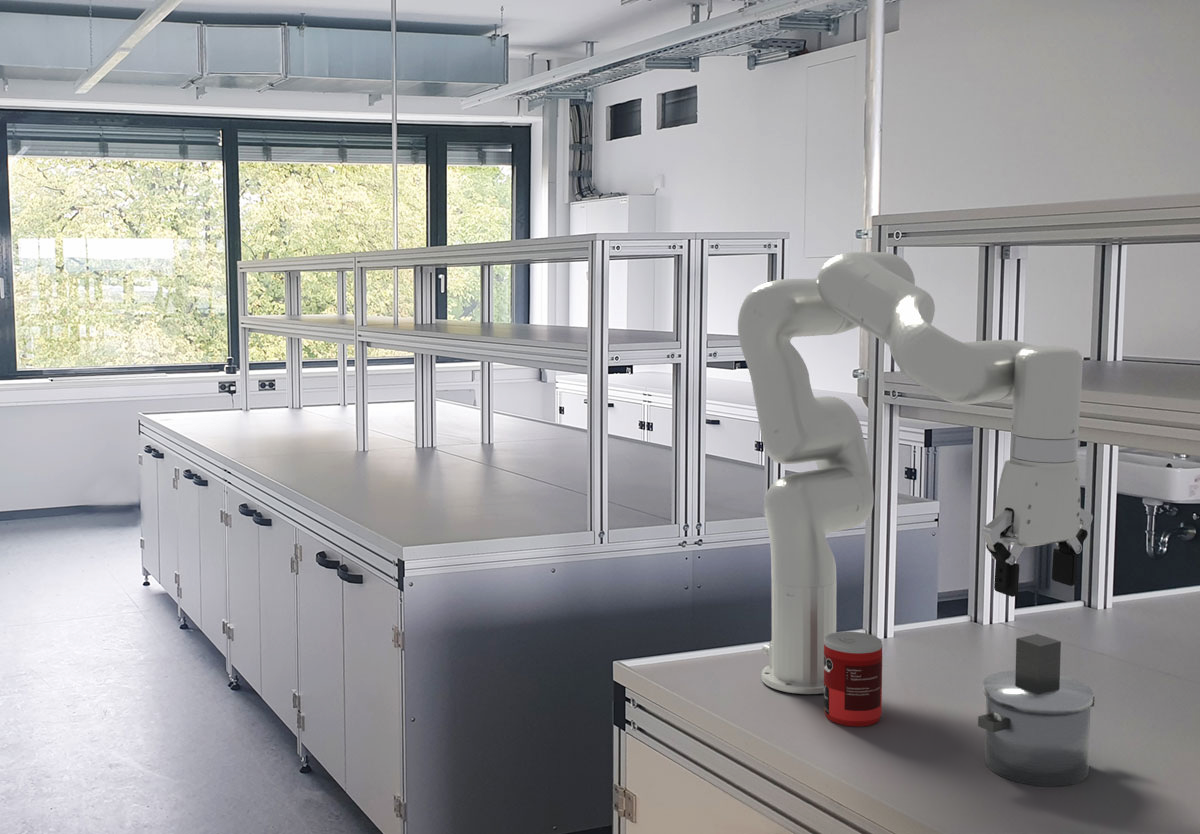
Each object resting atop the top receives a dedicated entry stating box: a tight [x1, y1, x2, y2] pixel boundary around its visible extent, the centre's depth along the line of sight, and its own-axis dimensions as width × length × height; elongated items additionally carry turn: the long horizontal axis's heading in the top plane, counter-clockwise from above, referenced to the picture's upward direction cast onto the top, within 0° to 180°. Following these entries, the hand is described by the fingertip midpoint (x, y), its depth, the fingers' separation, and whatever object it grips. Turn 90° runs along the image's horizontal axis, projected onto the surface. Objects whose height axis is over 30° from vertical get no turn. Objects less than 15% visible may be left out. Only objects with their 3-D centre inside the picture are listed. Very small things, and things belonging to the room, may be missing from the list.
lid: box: [982, 633, 1094, 714], centre depth 145 cm, size 13×13×7 cm
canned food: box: [823, 631, 883, 728], centre depth 163 cm, size 8×8×11 cm
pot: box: [977, 695, 1095, 788], centre depth 146 cm, size 12×17×9 cm
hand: (1035, 588), depth 144 cm, fingers open, 9 cm apart
